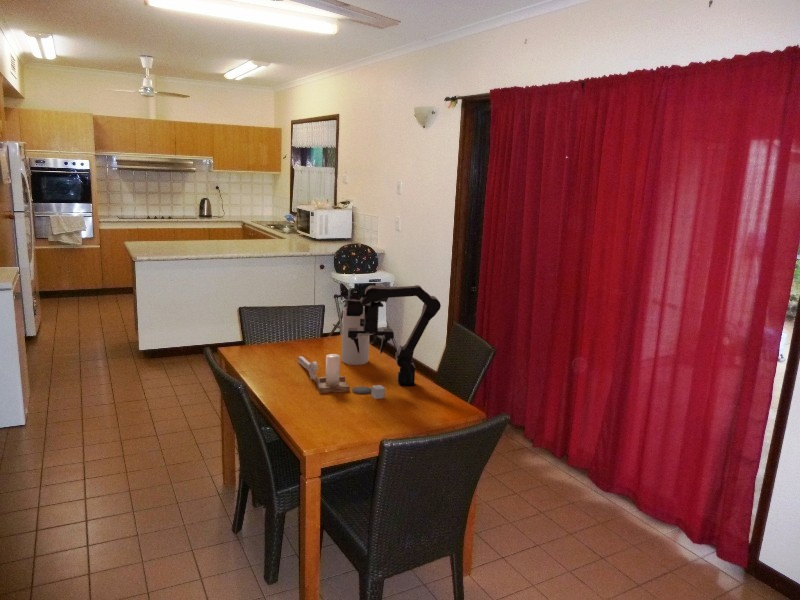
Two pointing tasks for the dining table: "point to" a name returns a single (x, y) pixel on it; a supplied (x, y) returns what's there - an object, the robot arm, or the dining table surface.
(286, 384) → the dining table surface
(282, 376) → the dining table surface
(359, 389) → the coaster
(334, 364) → the white rounded tapered post
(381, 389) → the block
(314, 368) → the wrench
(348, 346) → the cylinder vase
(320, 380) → the bay
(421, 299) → the robot arm
